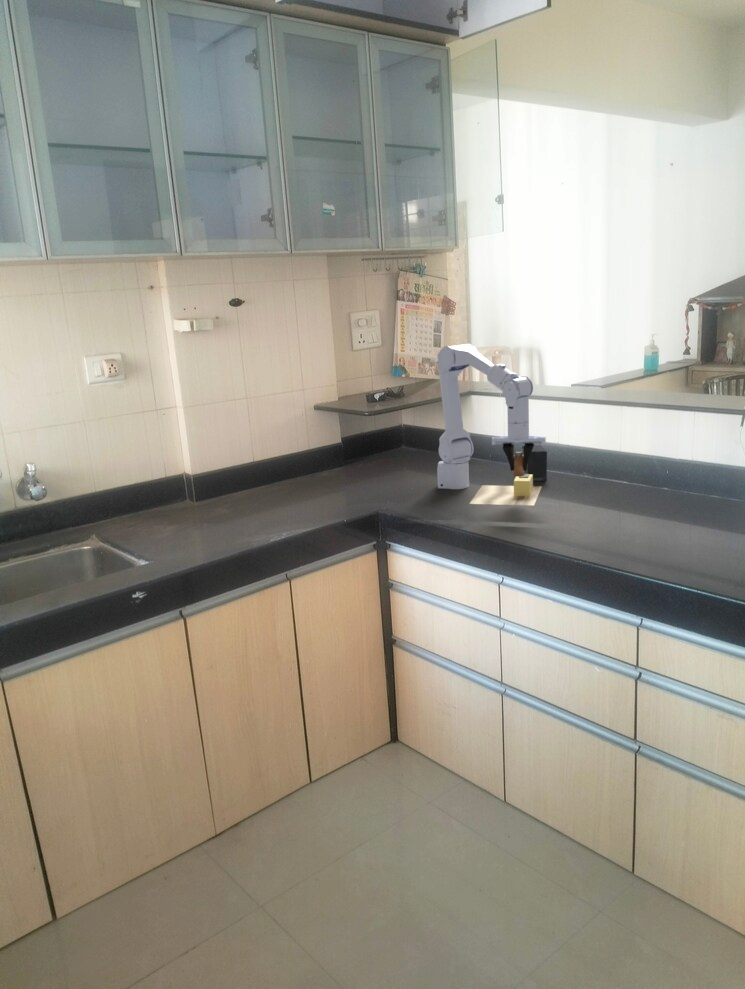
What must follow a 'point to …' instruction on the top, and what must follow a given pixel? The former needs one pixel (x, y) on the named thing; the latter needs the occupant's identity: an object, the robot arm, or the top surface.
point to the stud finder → (523, 485)
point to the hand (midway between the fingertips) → (518, 469)
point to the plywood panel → (504, 496)
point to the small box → (537, 463)
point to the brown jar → (518, 464)
